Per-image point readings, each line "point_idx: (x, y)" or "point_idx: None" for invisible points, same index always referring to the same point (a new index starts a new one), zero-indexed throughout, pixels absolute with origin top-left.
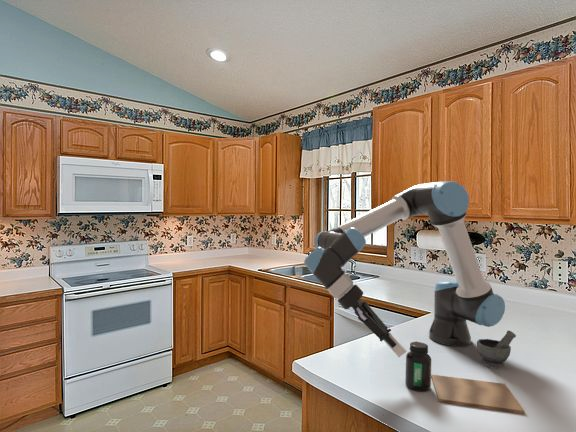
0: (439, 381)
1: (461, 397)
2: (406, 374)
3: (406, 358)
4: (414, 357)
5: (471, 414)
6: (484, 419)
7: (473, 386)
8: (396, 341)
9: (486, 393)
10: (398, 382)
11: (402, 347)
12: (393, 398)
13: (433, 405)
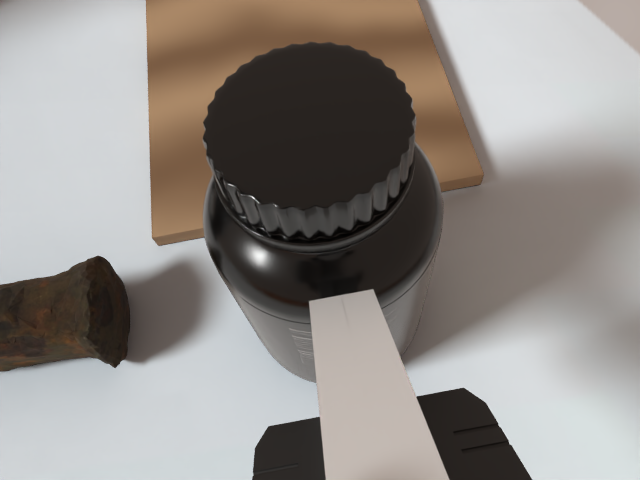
0: None
1: None
2: None
3: None
4: (425, 212)
5: (514, 59)
6: (525, 20)
7: (232, 49)
8: (408, 385)
9: (287, 6)
10: None
11: (382, 318)
12: (623, 437)
13: (541, 203)
